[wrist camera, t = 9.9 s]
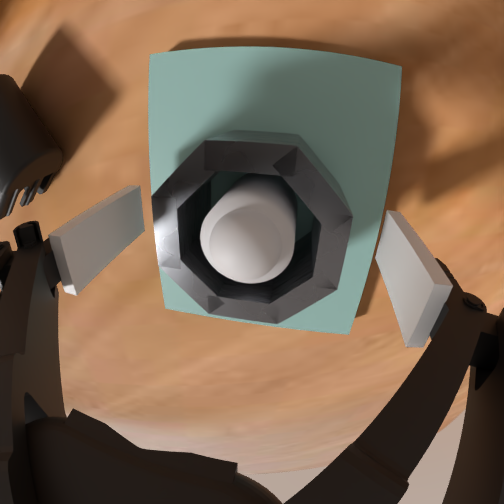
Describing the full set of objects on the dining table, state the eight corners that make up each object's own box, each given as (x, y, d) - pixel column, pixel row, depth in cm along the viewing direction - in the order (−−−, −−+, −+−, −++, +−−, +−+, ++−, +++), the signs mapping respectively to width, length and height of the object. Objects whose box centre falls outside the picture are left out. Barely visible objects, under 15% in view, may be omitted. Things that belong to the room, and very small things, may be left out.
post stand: (172, 297, 23) (127, 370, 16) (161, 57, 14) (74, 40, 7) (347, 321, 21) (355, 409, 14) (394, 69, 13) (459, 47, 6)
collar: (194, 259, 19) (164, 305, 15) (191, 128, 15) (148, 140, 11) (323, 276, 18) (326, 330, 14) (345, 140, 14) (363, 154, 10)
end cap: (82, 141, 18) (15, 163, 12) (48, 198, 21) (-7, 230, 15) (30, 69, 15) (-30, 77, 9) (2, 128, 18) (-50, 146, 12)
